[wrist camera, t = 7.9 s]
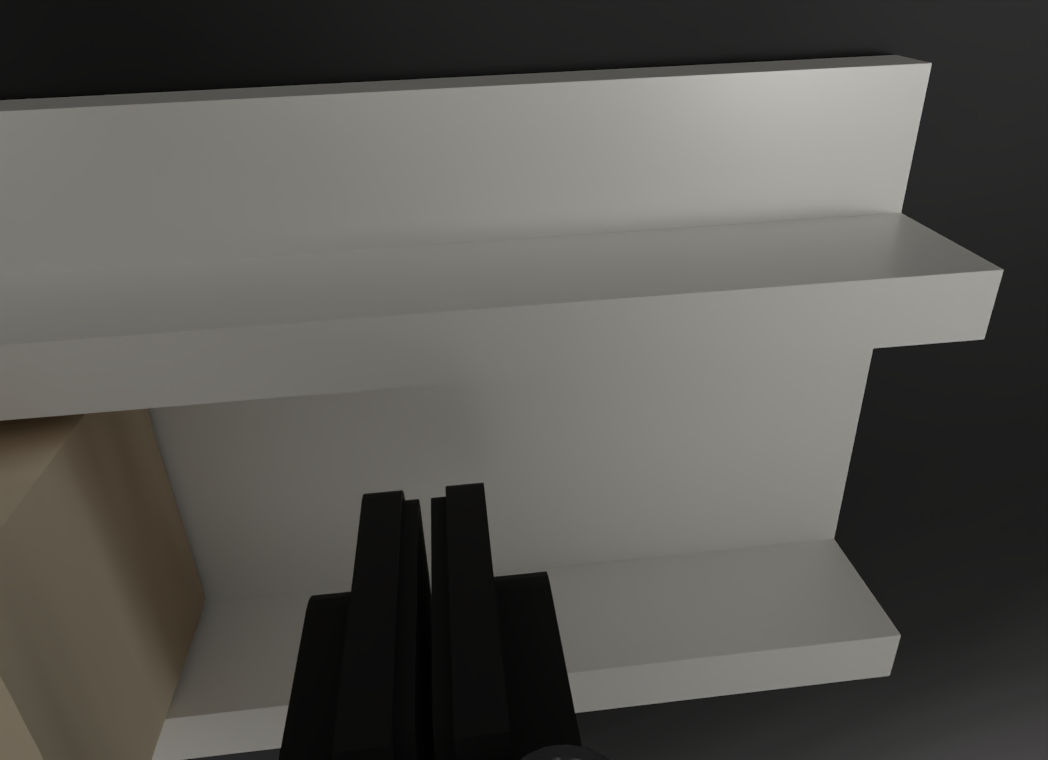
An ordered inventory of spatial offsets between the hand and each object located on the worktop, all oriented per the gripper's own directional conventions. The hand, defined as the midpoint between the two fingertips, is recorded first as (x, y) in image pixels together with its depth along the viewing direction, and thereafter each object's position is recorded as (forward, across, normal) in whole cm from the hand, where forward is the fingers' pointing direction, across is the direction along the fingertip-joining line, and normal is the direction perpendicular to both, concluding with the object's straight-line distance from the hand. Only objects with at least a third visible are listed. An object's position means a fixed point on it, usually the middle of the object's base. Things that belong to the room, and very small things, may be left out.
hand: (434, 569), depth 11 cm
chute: (+4, +1, 0) cm, 4 cm away
